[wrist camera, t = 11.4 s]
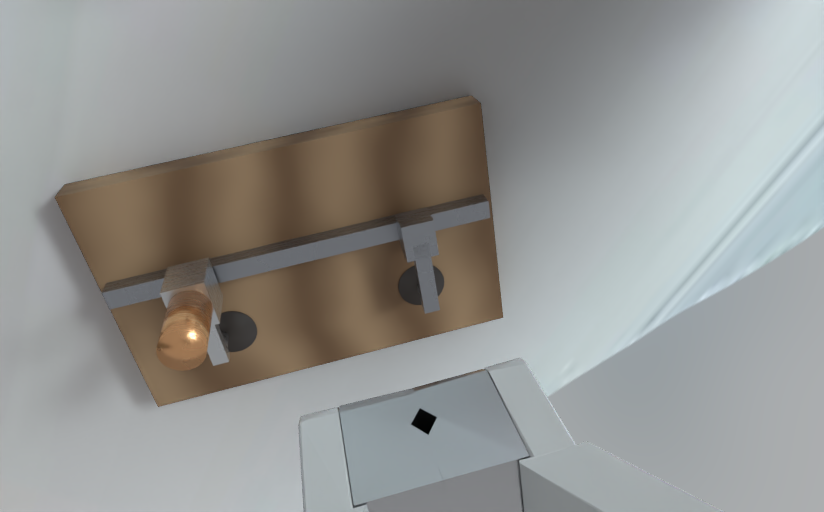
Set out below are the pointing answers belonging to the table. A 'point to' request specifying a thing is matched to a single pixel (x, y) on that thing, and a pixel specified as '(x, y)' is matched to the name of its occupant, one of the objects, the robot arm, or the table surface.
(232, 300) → the brown wooden board
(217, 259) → the bar
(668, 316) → the table surface
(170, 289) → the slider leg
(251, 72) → the table surface
